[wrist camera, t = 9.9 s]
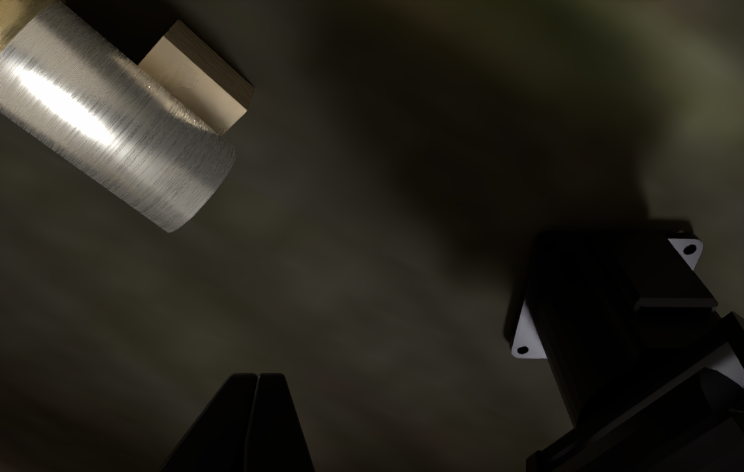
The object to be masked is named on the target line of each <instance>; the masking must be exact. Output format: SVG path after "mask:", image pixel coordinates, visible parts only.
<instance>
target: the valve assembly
mask: <svg viewBox="0 0 744 472" xmlns="http://www.w3.org/2000/svg"><path fill="white" fill-rule="evenodd" d="M65 2H66V0H0V113H2V114H3V115H5V116H6V117H7V118H9V119H10V120H12V121H13V122H14V123H16V124H17V125H19V126H20V127H21V128H23V129H24V130H26V131H27V132H28V133H30V134H31V135H33V136H34V137H35V138H37V139H38V140H40V141H41V142H42V143H44V144H45V145H46V146H48V147H49V148H51V149H52V150H53V151H55V152H56V153H58V154H59V155H60V156H62V157H63V158H65V159H66V160H67V161H69V162H70V163H72V164H73V165H74V166H76V167H77V168H79V169H80V170H81V171H83V172H84V173H86V174H87V175H88V176H90V177H91V178H93V179H94V180H95V181H97V182H98V183H100V184H101V185H102V186H104V187H105V188H107V189H108V190H109V191H111V192H112V193H114V194H115V195H116V196H118V197H119V198H121V199H122V200H123V201H125V202H126V203H128V204H129V205H130V206H132V207H133V208H135V209H136V210H137V211H139V212H140V213H141V214H143V215H144V216H146V217H147V218H148V219H150V220H151V221H153V222H154V223H155V224H157V225H158V226H160V227H161V228H162V229H164V230H165V231H167V232H168V233H170V232H173V231H175V230H177V229H178V228H180V227H181V226H182V225H184V224H185V223H186V222H187V221H188V220H189V219H190V218H191V217H193V216H194V215H195V214H196V213H197V212H198V210H199V209H200V208H201V207H202V206H203V205H204V204H205V203H206V202H207V201H208V199H209V198H210V197H211V196H212V195H213V193H214V192H215V191H216V189H217V188H218V187H219V186H220V184H221V183H222V181H223V180H224V179H225V177H226V176H227V174H228V172H229V171H230V169H231V167H232V166H233V164H234V162H235V159H236V157H237V152H238V151H237V149H235V148H234V147H233V146H232V145H231V144H230V143H228V142H227V141H226V140H225V139H224V138H222V137H221V136H222V135H223V134H224V133H225V132H226V131H227V130H228V129H229V128H230V127H231V126H232V125H233V124H234V123H235V122H236V121H237V120H238V119H239V118H240V117H241V116H242V115H243V114H244V113H245V112H246V111H247V110H248V107H249V104H250V102H251V99H252V96H253V93H254V90H255V88H253V87H252V86H251V85H250V84H249V83H248V82H247V81H246V80H245V79H244V78H243V77H242V76H240V75H239V74H238V73H237V72H236V71H235V70H234V69H233V68H232V67H231V66H230V65H228V64H227V63H226V62H225V61H224V60H223V59H222V58H221V57H220V56H219V55H218V54H217V53H215V52H214V51H213V50H212V49H211V48H210V47H209V46H208V45H207V44H206V43H205V42H203V41H202V40H201V39H200V38H199V37H198V36H197V35H196V34H195V33H194V32H193V31H192V30H190V29H189V28H188V27H187V26H186V25H185V24H184V23H183V22H182V21H181V20H180V19H178V20H177V21H176V22H175V24H174V25H173V26H172V27H171V28H170V29H169V30H168V31H167V32H166V34H165V35H164V36H163V37H162V38H161V39H160V40H159V42H158V43H157V44H156V45H155V46H154V47H153V48H152V50H151V51H150V52H149V53H148V54H147V55H146V56H145V58H144V59H143V60H142V61H141V62H140V63H139V64H138V66H137V65H136V64H135V63H134V62H132V61H131V60H130V59H129V58H128V57H127V56H125V55H124V54H123V53H122V52H121V51H119V50H118V49H117V48H116V47H115V46H114V45H112V44H111V43H110V42H109V41H108V40H106V39H105V38H104V37H103V36H102V35H100V34H99V33H98V32H97V31H96V30H95V29H93V28H92V27H91V26H90V25H89V24H87V23H86V22H85V21H84V20H83V19H82V18H80V17H79V16H78V15H77V14H76V13H74V12H73V11H72V10H71V9H70V8H69V7H67V6H66V5H65Z"/></svg>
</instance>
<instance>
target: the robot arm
mask: <svg viewBox="0 0 744 472" xmlns="http://www.w3.org/2000/svg"><path fill="white" fill-rule="evenodd" d="M550 242H553V244H552V245H551V246H549V247H544V246H545V245H546V244H547V243H550ZM688 245H690V246H689V247H688V248H685V247H686V246H688ZM684 248H685V249H684ZM702 250H703V243H702V242H701V240H700V239H699V238H698V237H697V236H696V235H695V234H691V233H663V232H661V231H617V230H600V231H597V232H582V231H547V232H544V233H541V234H540V235H539V236H538V237H537V238H536V240H535V242H534V246H533V251H532V255H531V259H530V263H529V267H528V271H527V275H526V279H525V283H524V287H523V291H522V295H521V299H520V303H519V307H518V311H517V315H516V319H515V323H514V327H513V331H512V335H511V339H510V343H509V346H510V350H511V353H512V355H513V356H515V357H516V358H547V359H548V362H549V364H550V367H551V370H552V372H553V375H554V378H555V380H556V383H557V385H558V388H559V391H560V393H561V396H562V398H563V401H564V404H565V406H566V409H567V411H568V414H569V417H570V419H571V422H572V424H573V427H574V428H573V429H572V430H571V431H569V432H568V433H566V434H565V435H564V436H562V437H561V438H559V439H558V440H556V441H555V442H554V443H552V444H551V445H549V446H548V447H547V448H545V449H544V450H542V451H539V450H538V451H536V452H535V453H533V454H532V455H531V456H529V457H528V458H527V459H526V472H744V319H743V318H742V317H740V316H739V315H738V314H736V313H735V312H733V311H732V312H730V313H729V314H728V315H726V316H725V317H723V318H721V317H720V316H719V314H718V313H717V312H716V308H717V306H718V302H717V301H716V299H715V298H714V297H713V295H712V294H711V293H710V292H709V290H708V289H707V288H706V286H705V285H704V284H703V283H702V281H701V280H700V279H699V278H698V276H697V275H696V274H695V273H694V271H693V270H694V268H695V265H696V263H697V261H698V259H699V257H700V254H701V252H702ZM521 346H524V347H521ZM519 347H521V348H519ZM157 472H315V469H314V466H313V463H312V460H311V457H310V454H309V450H308V447H307V444H306V441H305V438H304V435H303V432H302V428H301V425H300V422H299V419H298V416H297V413H296V410H295V407H294V403H293V400H292V397H291V394H290V391H289V388H288V385H287V381H286V378H285V376H284V375H283V374H282V373H261V374H259V376H257V375H256V374H254V373H233V374H231V375H230V376H229V377H228V378H227V379H226V381H225V382H224V383H223V385H222V386H221V387H220V389H219V390H218V391H217V393H216V394H215V395H214V397H213V398H212V399H211V401H210V402H209V403H208V405H207V406H206V407H205V409H204V410H203V411H202V413H201V414H200V415H199V417H198V418H197V419H196V421H195V422H194V423H193V425H192V426H191V427H190V429H189V430H188V431H187V432H186V434H185V435H184V436H183V438H182V439H181V440H180V442H179V443H178V444H177V446H176V447H175V448H174V450H173V451H172V452H171V454H170V455H169V456H168V458H167V459H166V460H165V462H164V463H163V464H162V466H161V467H160V468H159V470H158V471H157Z"/></svg>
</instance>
